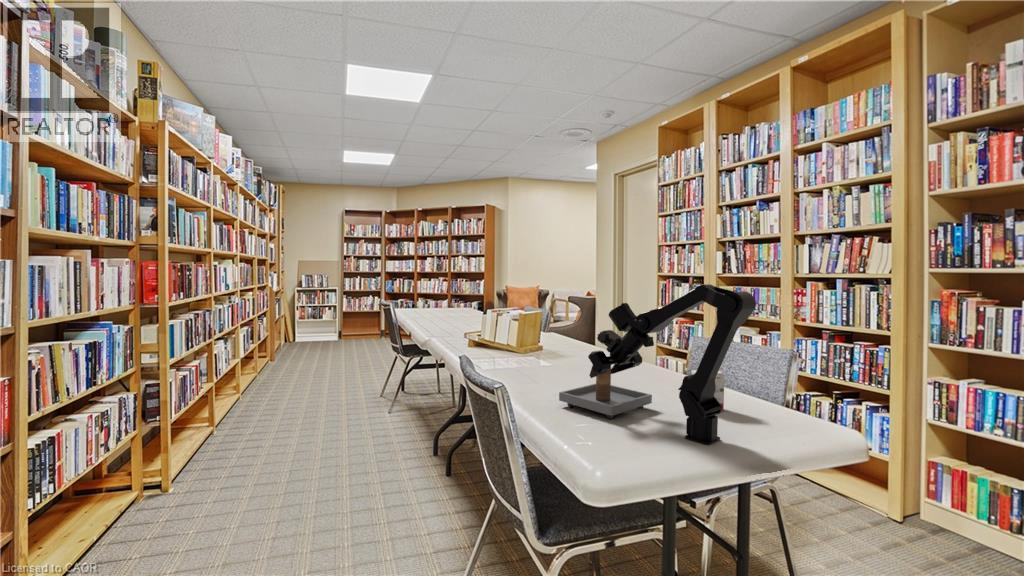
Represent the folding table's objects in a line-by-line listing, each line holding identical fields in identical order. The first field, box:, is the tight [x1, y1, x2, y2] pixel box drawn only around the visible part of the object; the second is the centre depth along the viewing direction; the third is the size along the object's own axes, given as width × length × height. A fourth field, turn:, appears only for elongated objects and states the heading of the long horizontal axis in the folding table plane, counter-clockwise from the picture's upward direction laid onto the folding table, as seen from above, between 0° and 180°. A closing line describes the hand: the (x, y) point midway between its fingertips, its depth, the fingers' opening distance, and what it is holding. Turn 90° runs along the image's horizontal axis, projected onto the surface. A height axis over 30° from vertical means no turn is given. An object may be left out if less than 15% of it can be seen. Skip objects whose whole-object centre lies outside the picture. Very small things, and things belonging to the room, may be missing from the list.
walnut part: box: [595, 367, 612, 402], centre depth 148 cm, size 4×4×11 cm
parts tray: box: [558, 383, 653, 420], centre depth 149 cm, size 20×20×4 cm
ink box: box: [691, 369, 725, 413], centre depth 148 cm, size 9×5×12 cm, turn 84°
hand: (600, 374), depth 148 cm, fingers open, 9 cm apart
